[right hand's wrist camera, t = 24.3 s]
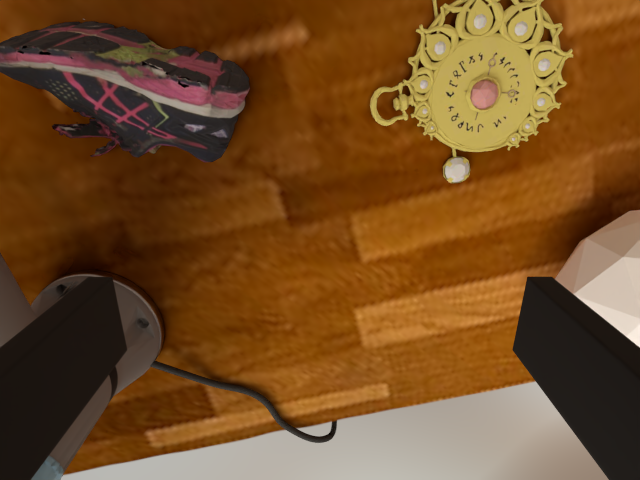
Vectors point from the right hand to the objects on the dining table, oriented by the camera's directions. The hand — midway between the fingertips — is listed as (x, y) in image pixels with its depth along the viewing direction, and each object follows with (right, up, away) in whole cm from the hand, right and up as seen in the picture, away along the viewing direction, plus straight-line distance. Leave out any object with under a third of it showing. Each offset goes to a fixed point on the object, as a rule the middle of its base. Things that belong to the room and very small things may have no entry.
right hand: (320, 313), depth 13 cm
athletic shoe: (-18, +17, +27) cm, 36 cm away
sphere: (+34, -1, +34) cm, 48 cm away
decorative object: (+14, +19, +27) cm, 36 cm away
